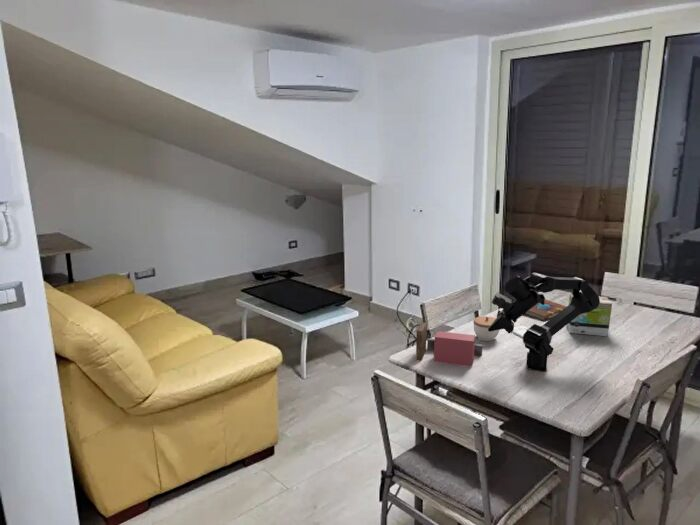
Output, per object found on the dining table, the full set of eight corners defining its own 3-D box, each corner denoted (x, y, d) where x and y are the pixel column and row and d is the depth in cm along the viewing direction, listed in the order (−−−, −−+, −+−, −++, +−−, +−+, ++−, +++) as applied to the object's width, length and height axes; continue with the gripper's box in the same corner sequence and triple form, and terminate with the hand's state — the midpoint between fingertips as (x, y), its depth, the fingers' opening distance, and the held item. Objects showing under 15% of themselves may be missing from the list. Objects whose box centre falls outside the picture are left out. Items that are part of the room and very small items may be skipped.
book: (573, 312, 247) (575, 302, 246) (544, 324, 233) (545, 313, 231) (543, 302, 260) (544, 292, 258) (513, 312, 245) (514, 303, 244)
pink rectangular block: (473, 360, 194) (475, 335, 192) (472, 366, 189) (473, 341, 186) (436, 355, 199) (437, 331, 196) (433, 361, 193) (434, 336, 191)
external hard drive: (526, 341, 212) (507, 331, 223) (542, 338, 214) (522, 328, 226) (526, 338, 211) (507, 327, 223) (542, 335, 214) (523, 325, 225)
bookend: (482, 354, 199) (483, 325, 196) (478, 368, 187) (480, 337, 184) (423, 347, 206) (423, 318, 203) (416, 360, 194) (416, 330, 192)
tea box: (569, 334, 218) (573, 300, 214) (566, 325, 227) (569, 293, 223) (608, 336, 214) (612, 303, 211) (603, 328, 224) (606, 295, 220)
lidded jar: (489, 345, 207) (490, 323, 205) (467, 337, 215) (468, 316, 213) (504, 338, 214) (506, 317, 211) (483, 331, 222) (484, 310, 219)
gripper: (508, 280, 189) (476, 305, 195) (505, 294, 172) (470, 322, 178) (529, 302, 189) (496, 327, 195) (528, 319, 171) (492, 346, 178)
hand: (488, 330), depth 186 cm, fingers closed
